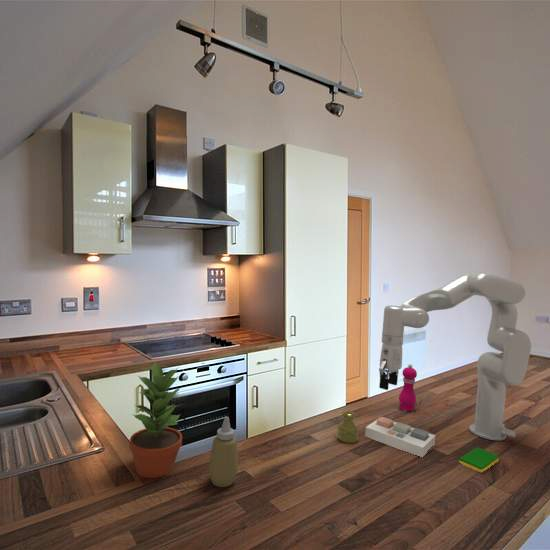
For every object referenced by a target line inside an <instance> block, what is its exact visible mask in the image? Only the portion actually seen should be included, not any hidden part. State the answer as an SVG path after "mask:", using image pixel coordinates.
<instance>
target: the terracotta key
mask: <svg viewBox="0 0 550 550" xmlns="http://www.w3.org/2000/svg"><path fill="white" fill-rule="evenodd" d="M376 420H377V425H380V426H382V427H385V428H388V429H389V428H391V427H392V426H393V424H394V422H395V420H393V419H391V418H387V417H384V416H381V417H379V418H377V419H376Z"/></svg>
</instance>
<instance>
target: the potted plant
mask: <svg viewBox="0 0 550 550" xmlns="http://www.w3.org/2000/svg"><path fill="white" fill-rule="evenodd" d="M150 367H151V368H150V369H151V375H152V379H150V378H148V377H146V376H140V375H138V378H139V381H141V382H142V383H143V384H144V385H145V386H146V387H147V388H144V387H141V389H142V390H141V391H140V392H139V391H138V393H139V394H142V395H143V396H145V398H146V400H147V401H148V402H149V404H150V405H151V408H149V407H147V406H146V405H143V404H139V405H136V404H134V406H135V407H137V408H138V409H139V410H141V411H143V412H144V413H146V414H147V415H146V414H142V413H139V414H134V413H133V414H132V413H131V414H132V416H134V418H135V419H137V420H139V421H141V423H142V425H143V426H144V428H143V429H140V430H138V431H136V432H134V433H133V434H132V435H131V436H130V438H129V445H128V446H129V449H130V452H131V453H132V458H133V461H134V462H133V464H134V467H135V470H136V473H137V474H138V475H139V476H140V477H142V478H143V477H144V478H148V479H154V478H160V477H164V476H166V475H168V474H170V473H171V472H172V470H173V469H174V467H175V466H174V465H175V462H176V459H177V456H178V454H179V450H180V449H181V447H183V434H182V432H181V431H179V430H177V429H176V428H174V427H173V428H172V427H169V426H174V425H178V421H177V420H179V418H180V416H181V415H182V414H181V413H180V414H177V415H176V414H172V412H173V411H174V410H175V408H176V407H177V405H176V404H175V403H173V404H172V405H168V404H169V402H170V400H172V398H173V397H174V396H175V395H176V394H177V393H178V391H180V389H181V387H179V388H176V389H175V390H173V391H169V389H170V387H172V385H174V383H176V381H178V378H179V377H180V375H178V376H176V377H173V376H174V375H175V374H176V373H177V370H178V369H179V367H177V368H176V369H170V370H169V371H167V373H164V371H163V369H162V366H161V365H160V364H157V363H156V361H155V360H154V362H153V364H152V365H151V366H150ZM164 374H165V375H164ZM148 415H149V416H148ZM150 416H151V417H150Z"/></svg>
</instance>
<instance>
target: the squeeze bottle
mask: <svg viewBox="0 0 550 550" xmlns="http://www.w3.org/2000/svg"><path fill="white" fill-rule="evenodd" d="M237 439H238V438H236V437H235V430H234V429H233V428H232V427H231V423H230V417H229V416H224V418H223V422H222V425H221V427H219V428H218V429H217V431H216V436H214V438H213V439H212V445H211V450H210V451H211V452H210V458H209V463H208V473H209V477H210V480H211V483H212V484H213V486H215V487H218V488H227V487H229V486H231V485H233V483H234V480H235V478H236V475H237V473H238V470H239V462H238V461H239V460H238V459H239V457H238V440H237Z"/></svg>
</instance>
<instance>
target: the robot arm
mask: <svg viewBox="0 0 550 550" xmlns="http://www.w3.org/2000/svg"><path fill="white" fill-rule="evenodd" d="M473 296H480V297H484V298H486V300H487V301H488V302H489V305H490V307H491V319H490V323H489V328H488V332H487V339H486V340H487V344H488V346H489V347H491V348H492V349H494V350H497V351H499V352H502V353H503V354H500V353H498V352H492V351H488V352H487V351H486V352H484V353H482V354H480V356H479V357H478V359H477V362H476V363H477V365H476V366H477V368H476V369H477V376H478V377H477V392H476V400H475V402H476V405H475V415H474V423H472V424H469V431H470V432H471V433H472V434H474V435H475V436H477V437H480V438H482V439H486V440H489V441H490V440H491V441H497V442H498V441H499V442H500V441H505V440H506V439H507V436H508V437H510V438H513V439H515V437H516V432H514V431H513V430H512V429H508V428H506V427H505V423H504V414H505V413H504V412H505V404H506V397H507V395H506V393H507V391H506V390H507V389H506V385H507V386H510V387H511V386H514V387H515V386H517V385H519V384H521V382H523V380H524V379H525V376H526V372H527V369H528V365H529V361H530V354H531V349H532V343H531V341H532V340H531V338H530V337H529V335H528V334H527V333H526V332H525V331H523V330H520V329H517V322H518V316H519V315H518V308H517V304H519V303H521V302H522V301H524V299H525V297H526V289H525V286H523V284H522V283H520V282H519V281H516V280H513V279H510V278H505V277H502V276H498V275H495V274H492V273H487V272H477V271H469V272H466V273H464V274H462V275H460V276H458V277H456V278H454V279H453V280H451V281H450V282H447V283H446V284H444V285H443V286H440V287H439V288H436V289H434V290H431V291H428V292H425V293H422V294H419V295H417V296H415V297H413V298H411V299H409V300H408V301H406V302H404V303H402V304H401V305H400V306H399V305H392V304H391V305H386V306H385V307H384V309H383V321H382V331H381V343H382V345H381V350H380V357H379V358H380V359H379V369H378V371H379V387H378V388H380V390H381V389H382V390H385V391H388V390H389V385H393V386H397V385H398V380H399V379H398V377H399V370H401V369H402V367H403V343H404V335H405V334H404V333H405V327H406V328H407V327H408V328H414V329H421V328H424V327H425V326H427V325H428V323H429V321H430V316H429V312H433V311H441V310H442V311H443V310H448V309H453V308H455V307H456V306H458V305H460V304H461V303H463V302H465V301H467V300H468V299H470V298H472V297H473Z"/></svg>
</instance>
